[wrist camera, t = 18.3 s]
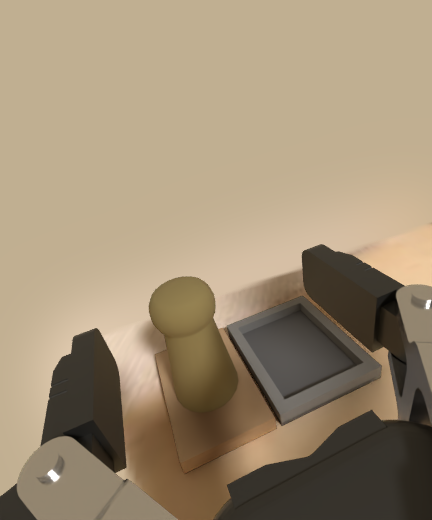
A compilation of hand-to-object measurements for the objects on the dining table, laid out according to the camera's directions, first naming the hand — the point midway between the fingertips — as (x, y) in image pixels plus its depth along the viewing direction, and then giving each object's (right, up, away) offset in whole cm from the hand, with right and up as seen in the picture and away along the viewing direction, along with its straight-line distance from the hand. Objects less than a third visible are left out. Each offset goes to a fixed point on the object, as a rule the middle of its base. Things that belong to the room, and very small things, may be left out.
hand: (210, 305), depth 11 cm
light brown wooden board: (0, -11, +18) cm, 21 cm away
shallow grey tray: (+8, -8, +20) cm, 23 cm away
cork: (-1, -10, +17) cm, 20 cm away
